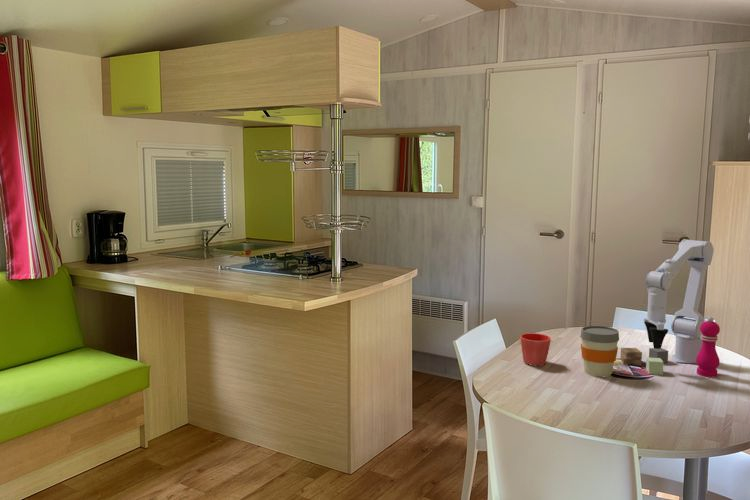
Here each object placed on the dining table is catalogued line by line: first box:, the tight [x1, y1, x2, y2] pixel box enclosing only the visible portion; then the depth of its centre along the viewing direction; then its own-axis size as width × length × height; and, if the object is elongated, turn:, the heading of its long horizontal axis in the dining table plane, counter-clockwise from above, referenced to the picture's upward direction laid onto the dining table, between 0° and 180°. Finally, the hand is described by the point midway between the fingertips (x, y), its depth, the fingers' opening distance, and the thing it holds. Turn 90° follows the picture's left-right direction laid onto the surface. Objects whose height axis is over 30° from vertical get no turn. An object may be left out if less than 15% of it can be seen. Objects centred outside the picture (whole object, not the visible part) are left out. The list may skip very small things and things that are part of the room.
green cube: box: [645, 356, 664, 375], centre depth 219 cm, size 4×4×4 cm
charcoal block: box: [648, 347, 669, 364], centre depth 231 cm, size 4×4×4 cm
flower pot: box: [520, 332, 552, 366], centre depth 230 cm, size 11×11×10 cm
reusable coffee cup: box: [580, 325, 620, 378], centre depth 219 cm, size 13×13×15 cm
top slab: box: [620, 347, 643, 360], centre depth 230 cm, size 6×6×2 cm
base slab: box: [620, 354, 642, 366], centre depth 231 cm, size 6×6×2 cm
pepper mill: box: [695, 316, 721, 378], centre depth 216 cm, size 7×7×20 cm
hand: (654, 345), depth 219 cm, fingers open, 7 cm apart
